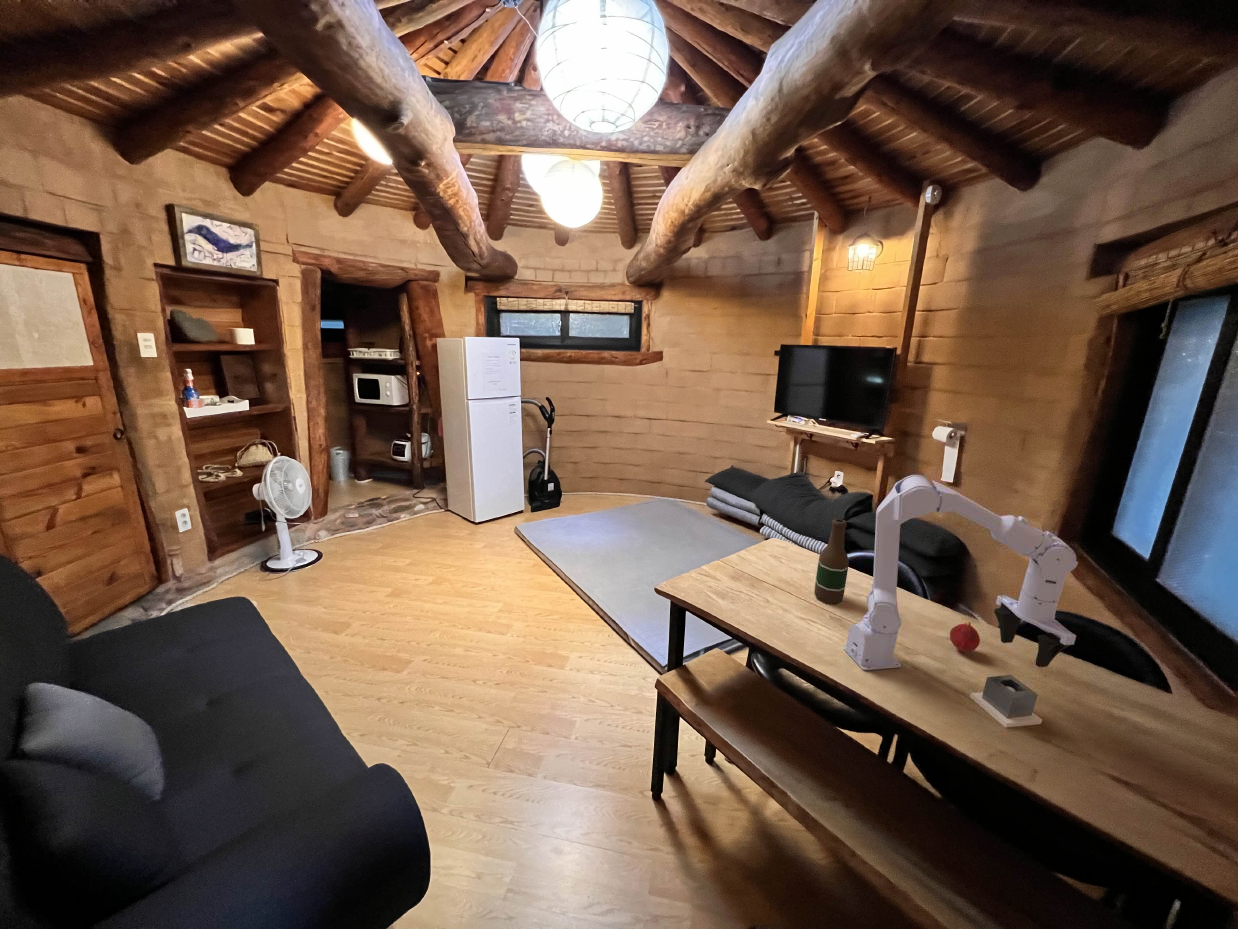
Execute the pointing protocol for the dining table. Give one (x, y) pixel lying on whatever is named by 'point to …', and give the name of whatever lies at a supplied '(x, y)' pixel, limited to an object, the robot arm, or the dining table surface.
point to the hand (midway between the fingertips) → (1023, 653)
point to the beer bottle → (832, 567)
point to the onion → (964, 637)
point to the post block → (1001, 718)
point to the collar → (1009, 696)
